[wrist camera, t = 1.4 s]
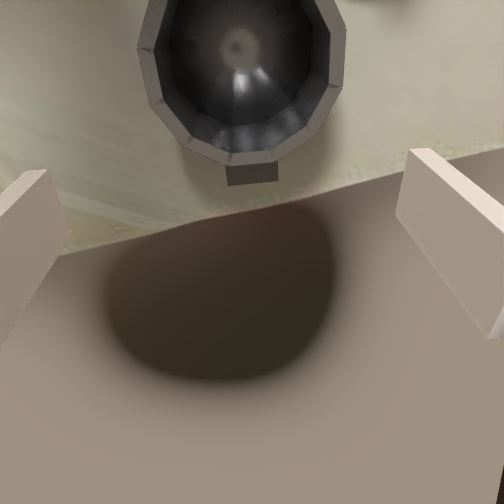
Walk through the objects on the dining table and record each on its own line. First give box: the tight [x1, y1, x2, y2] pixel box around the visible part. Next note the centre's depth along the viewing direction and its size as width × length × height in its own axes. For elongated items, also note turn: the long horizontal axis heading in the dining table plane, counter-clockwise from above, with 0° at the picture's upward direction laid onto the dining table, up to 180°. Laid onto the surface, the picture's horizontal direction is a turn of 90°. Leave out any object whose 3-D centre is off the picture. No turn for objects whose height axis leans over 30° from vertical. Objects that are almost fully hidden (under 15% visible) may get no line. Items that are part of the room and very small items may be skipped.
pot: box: [137, 0, 346, 186], centre depth 33 cm, size 21×16×9 cm
